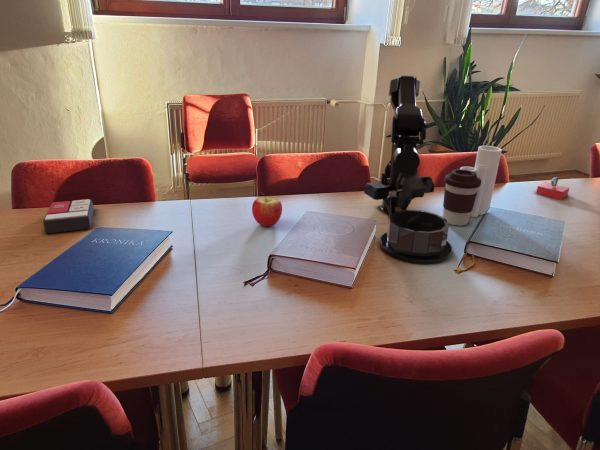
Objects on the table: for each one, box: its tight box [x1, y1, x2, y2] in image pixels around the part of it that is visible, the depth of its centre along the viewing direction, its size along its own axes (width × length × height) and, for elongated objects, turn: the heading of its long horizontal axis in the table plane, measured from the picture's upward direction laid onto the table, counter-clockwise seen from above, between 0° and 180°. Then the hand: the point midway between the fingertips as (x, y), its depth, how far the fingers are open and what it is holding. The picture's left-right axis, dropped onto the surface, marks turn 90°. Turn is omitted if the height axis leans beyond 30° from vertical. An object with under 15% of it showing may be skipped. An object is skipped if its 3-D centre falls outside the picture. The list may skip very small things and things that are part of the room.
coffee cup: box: [442, 168, 481, 226], centre depth 128 cm, size 10×10×15 cm
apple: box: [251, 191, 283, 227], centre depth 124 cm, size 8×8×10 cm
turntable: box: [379, 231, 453, 265], centre depth 114 cm, size 18×18×1 cm
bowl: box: [386, 207, 450, 256], centre depth 114 cm, size 17×14×6 cm
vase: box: [459, 145, 503, 218], centre depth 134 cm, size 11×7×20 cm, turn 111°
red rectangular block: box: [535, 176, 570, 201], centre depth 154 cm, size 8×7×6 cm
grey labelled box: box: [42, 198, 94, 234], centre depth 124 cm, size 11×4×15 cm
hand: (396, 217), depth 121 cm, fingers open, 3 cm apart
